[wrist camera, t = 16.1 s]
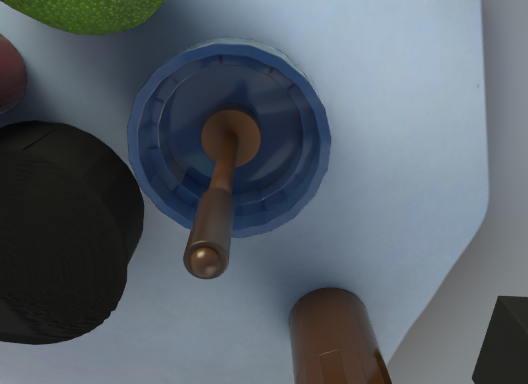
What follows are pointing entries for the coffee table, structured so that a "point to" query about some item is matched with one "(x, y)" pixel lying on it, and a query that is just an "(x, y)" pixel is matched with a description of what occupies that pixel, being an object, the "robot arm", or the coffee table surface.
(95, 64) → the coffee table surface
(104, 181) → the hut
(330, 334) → the crock
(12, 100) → the soda can
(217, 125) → the wooden pestle
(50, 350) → the coffee table surface
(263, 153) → the bowl
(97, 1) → the fruit
